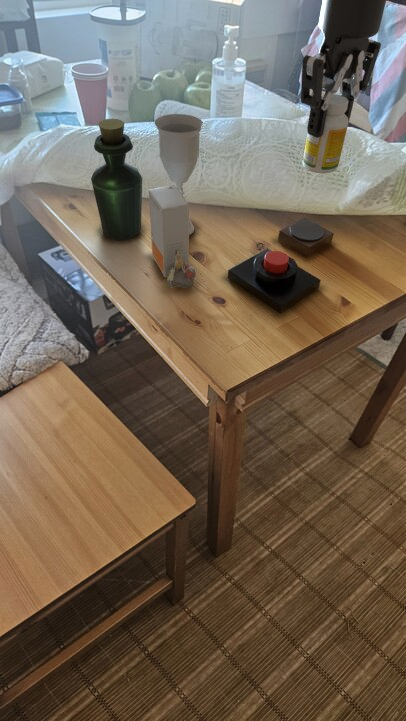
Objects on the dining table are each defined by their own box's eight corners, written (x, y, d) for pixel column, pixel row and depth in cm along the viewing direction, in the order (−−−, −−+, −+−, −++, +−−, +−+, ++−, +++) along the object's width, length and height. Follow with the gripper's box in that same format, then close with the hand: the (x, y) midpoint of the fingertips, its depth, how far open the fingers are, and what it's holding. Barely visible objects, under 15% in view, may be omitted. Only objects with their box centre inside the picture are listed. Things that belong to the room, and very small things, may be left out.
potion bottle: (123, 212, 92) (113, 108, 79) (155, 229, 88) (150, 123, 75) (88, 230, 87) (71, 123, 74) (120, 249, 84) (109, 140, 71)
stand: (331, 244, 87) (334, 231, 85) (307, 258, 84) (309, 245, 82) (302, 228, 90) (304, 215, 88) (277, 241, 87) (279, 228, 85)
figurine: (183, 271, 80) (183, 238, 76) (203, 283, 78) (204, 250, 74) (158, 285, 78) (157, 252, 73) (178, 298, 76) (178, 265, 71)
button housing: (318, 288, 78) (323, 270, 76) (280, 313, 74) (283, 295, 71) (266, 256, 84) (268, 238, 81) (227, 278, 79) (228, 259, 77)
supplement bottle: (298, 170, 76) (310, 102, 69) (305, 155, 79) (317, 89, 72) (335, 177, 74) (350, 108, 67) (340, 161, 78) (355, 95, 71)
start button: (292, 268, 76) (294, 258, 75) (276, 277, 75) (277, 267, 73) (274, 257, 78) (276, 247, 77) (258, 266, 77) (259, 256, 75)
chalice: (154, 237, 87) (149, 129, 74) (163, 216, 91) (159, 112, 78) (196, 242, 86) (199, 134, 73) (203, 220, 91) (206, 116, 77)
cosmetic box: (151, 257, 83) (147, 188, 74) (175, 251, 84) (174, 183, 75) (164, 278, 79) (161, 209, 70) (189, 272, 80) (190, 203, 71)
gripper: (346, 0, 55) (316, 153, 67) (416, -16, 62) (378, 125, 74) (293, -13, 59) (274, 134, 71) (365, -27, 66) (337, 110, 78)
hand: (327, 129), depth 73 cm, fingers closed on supplement bottle, 5 cm apart
